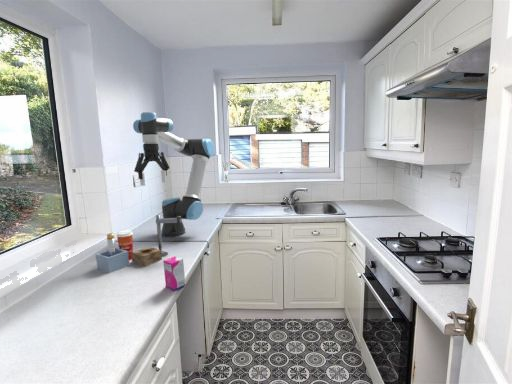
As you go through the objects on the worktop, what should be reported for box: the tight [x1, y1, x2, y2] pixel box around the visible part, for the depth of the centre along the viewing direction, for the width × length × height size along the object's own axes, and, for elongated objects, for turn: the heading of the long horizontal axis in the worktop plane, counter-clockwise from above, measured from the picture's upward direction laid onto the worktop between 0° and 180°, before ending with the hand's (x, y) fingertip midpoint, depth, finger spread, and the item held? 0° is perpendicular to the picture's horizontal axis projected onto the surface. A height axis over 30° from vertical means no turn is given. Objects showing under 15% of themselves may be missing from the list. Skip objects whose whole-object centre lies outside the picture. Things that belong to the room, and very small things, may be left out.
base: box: [162, 250, 169, 258], centre depth 154 cm, size 5×5×1 cm
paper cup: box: [116, 229, 134, 261], centre depth 150 cm, size 8×8×14 cm
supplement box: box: [162, 256, 186, 292], centre depth 119 cm, size 6×6×12 cm
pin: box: [106, 232, 116, 257], centre depth 140 cm, size 3×3×15 cm
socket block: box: [131, 246, 163, 267], centre depth 147 cm, size 10×10×5 cm
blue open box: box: [95, 247, 130, 274], centre depth 141 cm, size 10×10×7 cm
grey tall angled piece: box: [155, 214, 181, 253], centre depth 153 cm, size 13×2×20 cm, turn 92°
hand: (153, 184), depth 156 cm, fingers open, 13 cm apart
